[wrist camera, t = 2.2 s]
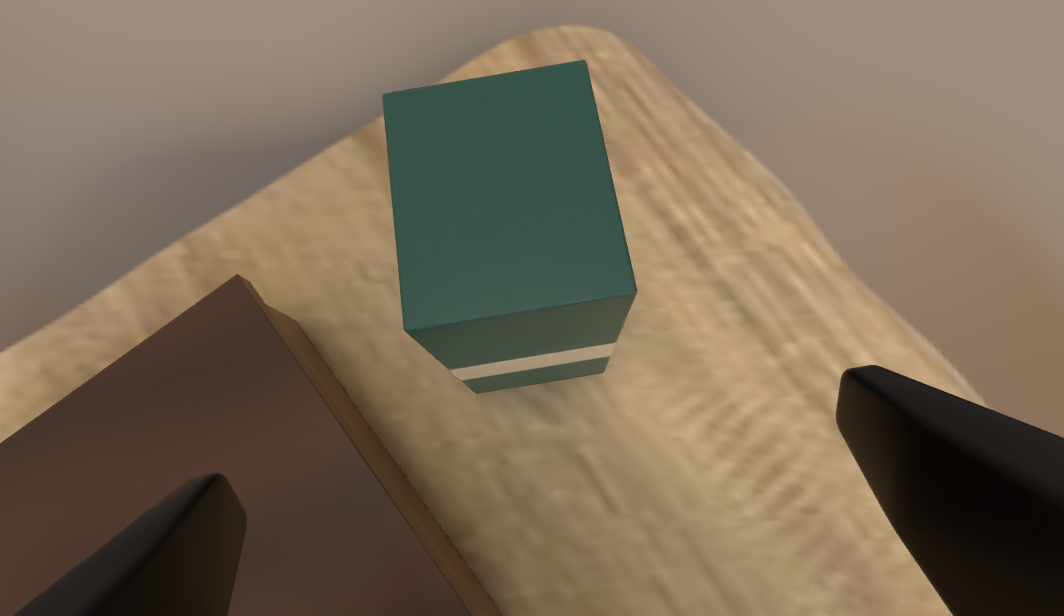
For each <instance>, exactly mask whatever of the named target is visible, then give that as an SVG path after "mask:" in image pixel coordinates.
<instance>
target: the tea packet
mask: <svg viewBox="0 0 1064 616" xmlns="http://www.w3.org/2000/svg"><path fill="white" fill-rule="evenodd" d="M382 99H383V108H384V109H383V110H384V120H385V131H386V142H387V153H388V163H389V174H390V185H391V196H392V206H393V217H394V228H395V238H396V249H397V260H398V271H399V281H400V292H401V303H402V314H403V324H404V330H405V331H406V332H407V333H408V334H409V335H410V336H411V337H412V338H413V339H415V340H416V341H417V342H418V343H419V344H420V345H421V346H423V347H424V348H425V349H426V350H427V351H428V352H429V353H430V354H432V355H433V356H434V357H435V358H436V359H437V360H438V361H440V362H441V363H442V364H443V365H444V366H445V367H446V368H447V369H448V370H449V371H450V372H451V373H452V374H453V375H454V376H455V377H457V378H458V379H459V380H461V381H462V382H463V383H465V384H466V385H467V386H468V387H469V388H470V389H471V390H472V391H474V392H475V393H483V392H489V391H495V390H501V389H507V388H513V387H519V386H525V385H531V384H538V383H544V382H550V381H556V380H562V379H568V378H574V377H580V376H586V375H592V374H598V373H603V372H604V371H605V368H606V366H607V363H608V361H609V358H610V356H611V355H612V353H613V351H614V348H615V346H616V344H617V339H618V337H619V334H620V332H621V329H622V327H623V325H624V322H625V320H626V317H627V315H628V313H629V310H630V308H631V305H632V303H633V300H634V298H635V296H636V293H637V287H636V283H635V278H634V274H633V269H632V265H631V260H630V256H629V251H628V247H627V242H626V238H625V233H624V229H623V224H622V220H621V215H620V211H619V206H618V202H617V197H616V193H615V188H614V184H613V179H612V175H611V170H610V166H609V161H608V157H607V152H606V148H605V143H604V139H603V134H602V130H601V125H600V121H599V116H598V112H597V107H596V103H595V98H594V94H593V89H592V85H591V80H590V76H589V71H588V67H587V63H586V61H585V60H580V61H575V62H569V63H563V64H557V65H551V66H545V67H539V68H533V69H527V70H521V71H515V72H509V73H503V74H498V75H492V76H486V77H480V78H474V79H468V80H462V81H456V82H450V83H444V84H438V85H432V86H426V87H421V88H415V89H409V90H403V91H398V92H391V93H385V94H383V97H382Z"/></svg>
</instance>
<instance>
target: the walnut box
mask: <svg viewBox="0 0 1064 616" xmlns="http://www.w3.org/2000/svg"><path fill="white" fill-rule="evenodd" d="M215 472H217V473H221V474H223V475H224V476H226V478H227V479H228V481H229V483H230V485H231V486H232V488H233V490H234V492H235V493H236V495H237V497H238V499H239V500H240V502H241V504H242V506H243V507H244V509H245V512H246V516H247V528H246V533H245V537H244V542H243V546H242V551H241V555H240V560H239V564H238V569H237V573H236V578H235V582H234V587H233V591H232V596H231V601H230V605H229V610H228V614H227V616H502V614H501V613H500V612H499V610H498V609H497V607H496V606H495V604H494V603H493V602H492V600H491V599H490V597H489V596H488V595H487V593H486V592H485V590H484V589H483V587H482V586H481V585H480V583H479V582H478V580H477V579H476V577H475V576H474V575H473V573H472V572H471V570H470V569H469V567H468V566H467V565H466V563H465V562H464V560H463V559H462V557H461V556H460V555H459V553H458V552H457V550H456V549H455V547H454V546H453V545H452V543H451V542H450V540H449V539H448V537H447V536H446V535H445V533H444V532H443V530H442V529H441V527H440V526H439V525H438V523H437V522H436V520H435V519H434V517H433V516H432V515H431V513H430V512H429V510H428V509H427V507H426V506H425V505H424V503H423V502H422V500H421V499H420V497H419V496H418V495H417V493H416V492H415V490H414V489H413V487H412V486H411V485H410V483H409V482H408V480H407V479H406V478H405V476H404V475H403V473H402V472H401V470H400V469H399V468H398V466H397V465H396V463H395V462H394V460H393V459H392V458H391V456H390V455H389V453H388V452H387V450H386V449H385V448H384V446H383V445H382V443H381V442H380V440H379V439H378V438H377V436H376V435H375V433H374V432H373V430H372V429H371V428H370V426H369V425H368V423H367V422H366V420H365V419H364V418H363V416H362V415H361V413H360V412H359V410H358V409H357V408H356V406H355V405H354V403H353V402H352V400H351V399H350V398H349V396H348V395H347V393H346V392H345V390H344V389H343V388H342V386H341V385H340V383H339V382H338V380H337V379H336V378H335V376H334V375H333V373H332V372H331V370H330V369H329V368H328V366H327V365H326V363H325V362H324V361H323V359H322V358H321V356H320V355H319V353H318V352H317V351H316V349H315V348H314V346H313V345H312V343H311V342H310V341H309V339H308V338H307V336H306V335H305V333H304V332H303V331H302V329H301V328H300V326H299V325H298V323H297V322H296V321H295V320H293V319H292V318H290V317H288V316H286V315H285V314H283V313H281V312H279V311H277V310H276V309H274V308H272V307H270V306H268V305H267V304H265V303H264V301H263V300H262V298H261V297H260V295H259V294H258V293H257V291H256V290H255V288H254V287H253V285H252V284H251V282H250V281H248V280H246V279H245V278H243V277H241V276H240V275H238V274H237V275H235V276H234V277H232V278H231V279H230V280H228V281H227V282H225V283H224V284H223V285H221V286H220V287H218V288H217V289H216V290H214V291H213V292H211V293H210V294H209V295H207V296H206V297H204V298H203V299H202V300H200V301H199V302H197V303H196V304H195V305H193V306H192V307H190V308H189V309H188V310H186V311H185V312H183V313H182V314H181V315H179V316H178V317H176V318H175V319H174V320H172V321H171V322H169V323H168V324H167V325H165V326H164V327H162V328H161V329H160V330H158V331H157V332H155V333H154V334H153V335H151V336H150V337H148V338H147V339H146V340H144V341H143V342H141V343H140V344H139V345H137V346H136V347H134V348H133V349H132V350H130V351H129V352H127V353H126V354H125V355H123V356H122V357H120V358H119V359H118V360H116V361H115V362H113V363H112V364H111V365H109V366H108V367H106V368H105V369H104V370H102V371H101V372H99V373H98V374H97V375H95V376H94V377H92V378H91V379H90V380H88V381H87V382H85V383H84V384H83V385H81V386H80V387H78V388H77V389H76V390H74V391H73V392H71V393H70V394H69V395H67V396H66V397H64V398H63V399H62V400H60V401H59V402H57V403H56V404H55V405H53V406H52V407H50V408H49V409H48V410H46V411H45V412H43V413H42V414H41V415H39V416H38V417H36V418H35V419H34V420H32V421H31V422H29V423H28V424H27V425H25V426H24V427H22V428H21V429H20V430H18V431H17V432H15V433H14V434H13V435H11V436H10V437H8V438H7V439H6V440H4V441H3V442H1V443H0V616H11V615H13V614H14V613H15V612H16V611H18V610H19V609H20V608H22V607H23V606H24V605H25V604H27V603H28V602H29V601H31V600H32V599H33V598H34V597H36V596H37V595H38V594H40V593H41V592H42V591H43V590H45V589H46V588H47V587H49V586H50V585H51V584H52V583H54V582H55V581H56V580H58V579H59V578H60V577H61V576H63V575H64V574H65V573H67V572H68V571H69V570H70V569H72V568H73V567H74V566H76V565H77V564H78V563H79V562H81V561H82V560H83V559H85V558H86V557H87V556H89V555H90V554H91V553H92V552H94V551H95V550H96V549H98V548H99V547H100V546H101V545H103V544H104V543H105V542H107V541H108V540H109V539H110V538H112V537H113V536H114V535H116V534H117V533H118V532H119V531H121V530H122V529H123V528H125V527H126V526H127V525H128V524H130V523H131V522H132V521H134V520H135V519H136V518H137V517H139V516H140V515H141V514H143V513H144V512H145V511H146V510H148V509H149V508H150V507H152V506H153V505H154V504H155V503H157V502H158V501H159V500H161V499H162V498H163V497H164V496H166V495H167V494H168V493H170V492H171V491H172V490H173V489H175V488H176V487H177V486H179V485H180V484H181V483H182V482H184V481H185V480H186V479H188V478H190V477H192V476H196V475H202V474H209V473H215Z"/></svg>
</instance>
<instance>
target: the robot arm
mask: <svg viewBox="0 0 1064 616" xmlns="http://www.w3.org/2000/svg"><path fill="white" fill-rule="evenodd" d="M836 421H837V425H838V428H839V430H840V432H841V434H842V436H843V438H844V440H845V442H846V443H847V445H848V447H849V449H850V451H851V453H852V454H853V456H854V458H855V460H856V462H857V464H858V465H859V467H860V469H861V471H862V473H863V475H864V477H865V478H866V480H867V482H868V484H869V486H870V488H871V489H872V491H873V493H874V495H875V497H876V499H877V500H878V502H879V504H880V506H881V508H882V510H883V511H884V513H885V515H886V516H887V518H888V520H889V522H890V523H891V525H892V526H893V528H894V530H895V531H896V533H897V534H898V536H899V537H900V539H901V540H902V542H903V543H904V545H905V546H906V548H907V549H908V551H909V552H910V553H911V555H912V556H913V558H914V559H915V561H916V562H917V564H918V565H919V567H920V568H921V569H922V571H923V572H924V574H925V575H926V577H927V578H928V580H929V581H930V583H931V584H932V585H933V587H934V588H935V590H936V591H937V593H938V594H939V596H940V597H941V599H942V600H943V601H944V603H945V604H946V606H947V607H948V609H949V610H950V612H951V613H952V615H953V616H1064V438H1062V437H1060V436H1057V435H1055V434H1052V433H1050V432H1047V431H1045V430H1042V429H1040V428H1037V427H1034V426H1032V425H1029V424H1027V423H1024V422H1022V421H1019V420H1016V419H1014V418H1011V417H1008V416H1006V415H1004V414H1001V413H998V412H996V411H993V410H991V409H988V408H986V407H983V406H980V405H978V404H975V403H973V402H970V401H967V400H965V399H962V398H960V397H957V396H955V395H952V394H949V393H947V392H944V391H942V390H939V389H937V388H934V387H931V386H929V385H926V384H924V383H921V382H919V381H916V380H913V379H911V378H908V377H906V376H903V375H900V374H898V373H895V372H893V371H890V370H888V369H885V368H882V367H880V366H877V365H868V366H862V367H856V368H850V369H847V370H846V371H844V373H843V374H842V377H841V381H840V388H839V395H838V402H837V409H836ZM246 528H247V516H246V512H245V509H244V507H243V506H242V504H241V502H240V500H239V499H238V497H237V495H236V493H235V492H234V490H233V488H232V486H231V485H230V483H229V481H228V479H227V478H226V476H224V475H223V474H221V473H217V472H215V473H209V474H202V475H196V476H192V477H190V478H188V479H186V480H185V481H184V482H182V483H181V484H180V485H179V486H177V487H176V488H175V489H173V490H172V491H171V492H170V493H168V494H167V495H166V496H164V497H163V498H162V499H161V500H159V501H158V502H157V503H155V504H154V505H153V506H152V507H150V508H149V509H148V510H146V511H145V512H144V513H143V514H141V515H140V516H139V517H137V518H136V519H135V520H134V521H132V522H131V523H130V524H128V525H127V526H126V527H125V528H123V529H122V530H121V531H119V532H118V533H117V534H116V535H114V536H113V537H112V538H110V539H109V540H108V541H107V542H105V543H104V544H103V545H101V546H100V547H99V548H98V549H96V550H95V551H94V552H92V553H91V554H90V555H89V556H87V557H86V558H85V559H83V560H82V561H81V562H79V563H78V564H77V565H76V566H74V567H73V568H72V569H70V570H69V571H68V572H67V573H65V574H64V575H63V576H61V577H60V578H59V579H58V580H56V581H55V582H54V583H52V584H51V585H50V586H49V587H47V588H46V589H45V590H43V591H42V592H41V593H40V594H38V595H37V596H36V597H34V598H33V599H32V600H31V601H29V602H28V603H27V604H25V605H24V606H23V607H22V608H20V609H19V610H18V611H16V612H15V613H14V614H13V615H11V616H227V614H228V610H229V605H230V601H231V596H232V591H233V587H234V582H235V578H236V573H237V569H238V564H239V560H240V555H241V551H242V546H243V542H244V537H245V533H246Z"/></svg>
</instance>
